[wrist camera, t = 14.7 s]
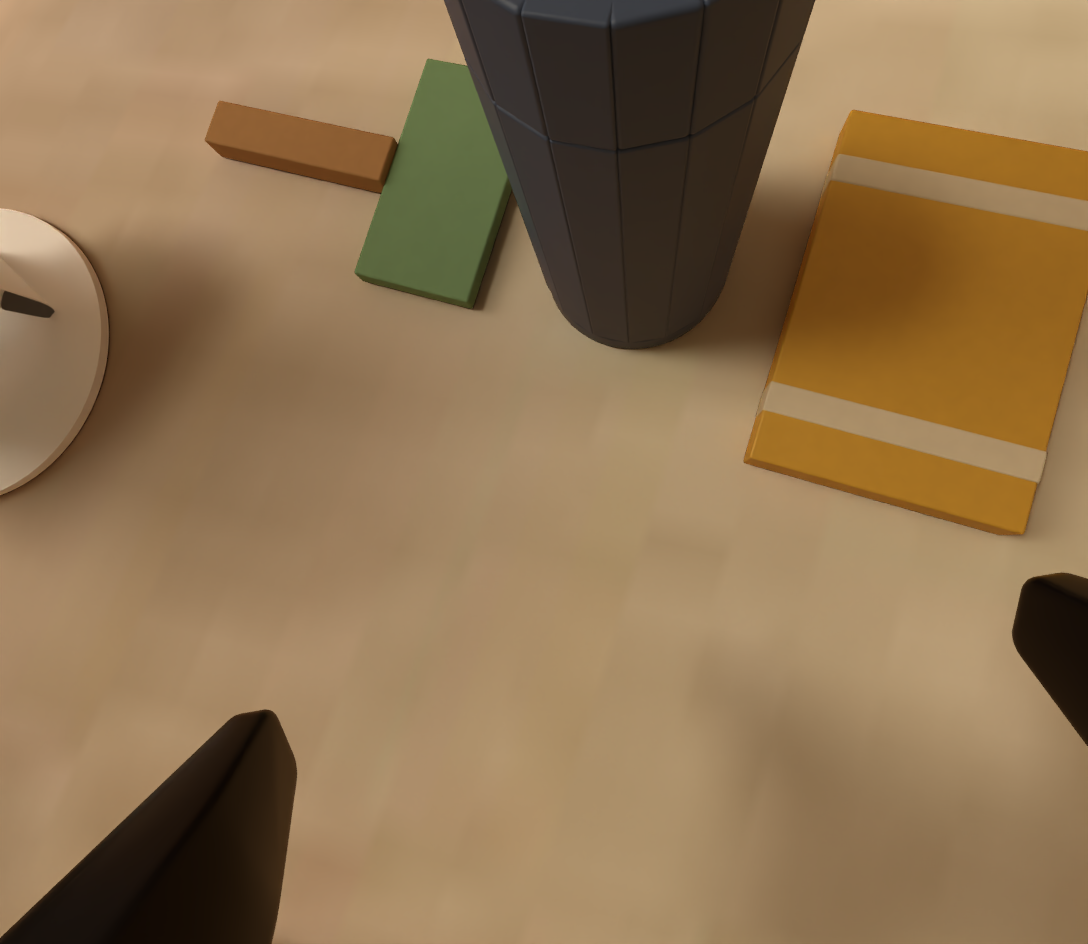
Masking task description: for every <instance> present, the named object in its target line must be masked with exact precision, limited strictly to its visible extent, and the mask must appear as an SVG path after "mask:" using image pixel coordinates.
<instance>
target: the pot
mask: <svg viewBox="0 0 1088 944" xmlns="http://www.w3.org/2000/svg"><path fill="white" fill-rule="evenodd" d="M444 2H445V5H446V7H447V10H448V13H449V16H450V18H451V21H452V24H453V27H454V29H455V32H456V35H457V38H458V41H459V43H460V46H461V49H462V52H463V54H464V57H465V60H466V63H467V66H468V69H469V71H470V74H471V77H472V80H473V82H474V85H475V88H476V91H477V93H478V96H479V99H480V102H481V104H482V107H483V110H484V113H485V115H486V118H487V121H488V124H489V126H490V129H491V132H492V135H493V137H494V140H495V143H496V146H497V148H498V151H499V154H500V157H501V160H502V162H503V165H504V168H505V171H506V173H507V176H508V179H509V182H510V184H511V187H512V190H513V193H514V195H515V198H516V201H517V204H518V206H519V209H520V212H521V215H522V217H523V220H524V223H525V226H526V228H527V231H528V234H529V237H530V239H531V242H532V245H533V248H534V250H535V253H536V256H537V259H538V261H539V264H540V267H541V270H542V272H543V275H544V278H545V281H546V283H547V286H548V288H549V289H550V291H551V293H552V296H553V298H554V300H555V302H556V304H557V306H558V308H559V310H560V311H561V313H562V314H563V316H564V317H565V318H566V319H567V320H568V321H569V322H570V324H571V325H572V326H574V327H575V328H576V329H577V330H578V331H580V332H581V333H582V334H584V335H586V336H587V337H589V338H591V339H593V340H595V341H597V342H599V343H602V344H605V345H609V346H612V347H618V348H628V349H638V348H648V347H653V346H657V345H661V344H664V343H667V342H669V341H672V340H674V339H676V338H678V337H680V336H682V335H683V334H685V333H686V332H688V331H689V330H691V329H692V328H693V327H695V326H696V325H697V324H698V323H699V322H700V321H701V320H702V319H703V318H704V317H705V316H706V315H707V314H708V312H709V311H710V310H711V308H712V307H713V305H714V304H715V302H716V301H717V299H718V297H719V295H720V293H721V290H722V288H723V286H724V284H725V281H726V278H727V275H728V272H729V268H730V265H731V262H732V259H733V256H734V253H735V250H736V247H737V243H738V240H739V237H740V234H741V231H742V228H743V225H744V221H745V218H746V215H747V212H748V209H749V206H750V203H751V200H752V196H753V193H754V190H755V187H756V184H757V181H758V178H759V174H760V171H761V168H762V165H763V162H764V159H765V156H766V153H767V149H768V146H769V143H770V140H771V137H772V134H773V131H774V128H775V124H776V121H777V118H778V115H779V112H780V109H781V106H782V102H783V99H784V96H785V93H786V90H787V87H788V84H789V81H790V77H791V74H792V71H793V68H794V65H795V62H796V59H797V55H798V52H799V49H800V46H801V43H802V40H803V36H804V34H805V31H806V27H807V24H808V21H809V18H810V15H811V12H812V9H813V5H814V2H815V0H444Z"/></svg>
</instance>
